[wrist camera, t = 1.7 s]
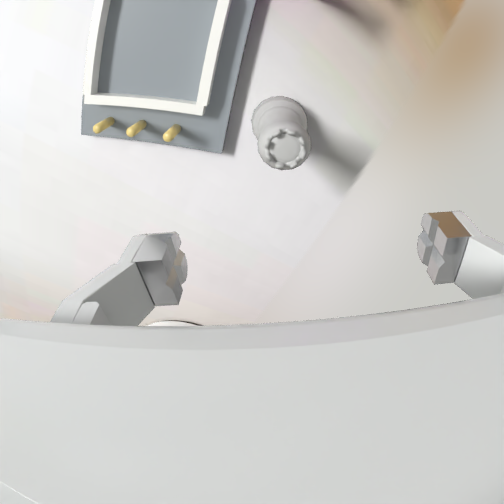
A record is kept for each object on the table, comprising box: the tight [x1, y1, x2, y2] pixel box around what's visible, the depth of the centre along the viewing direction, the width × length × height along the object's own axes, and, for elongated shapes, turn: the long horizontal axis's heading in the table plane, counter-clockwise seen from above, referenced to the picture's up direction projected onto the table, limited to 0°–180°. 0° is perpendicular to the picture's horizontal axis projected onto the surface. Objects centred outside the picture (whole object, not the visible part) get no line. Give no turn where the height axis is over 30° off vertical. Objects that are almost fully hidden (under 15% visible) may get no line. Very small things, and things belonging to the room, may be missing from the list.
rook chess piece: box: [251, 96, 311, 170], centre depth 20 cm, size 4×4×8 cm
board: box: [81, 0, 256, 154], centre depth 19 cm, size 15×13×4 cm
